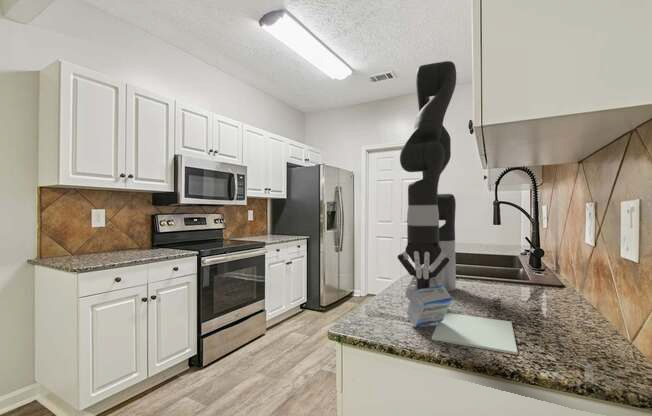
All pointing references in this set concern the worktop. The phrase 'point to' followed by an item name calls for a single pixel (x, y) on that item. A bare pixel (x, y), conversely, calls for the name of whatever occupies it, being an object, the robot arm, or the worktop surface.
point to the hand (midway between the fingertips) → (423, 293)
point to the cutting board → (476, 333)
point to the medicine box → (428, 305)
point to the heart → (413, 285)
